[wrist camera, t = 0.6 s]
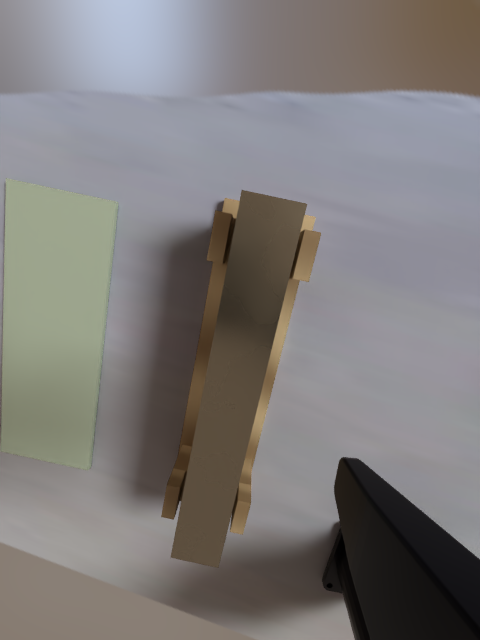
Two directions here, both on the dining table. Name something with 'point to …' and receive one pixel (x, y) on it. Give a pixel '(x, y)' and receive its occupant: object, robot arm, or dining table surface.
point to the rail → (236, 370)
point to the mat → (54, 320)
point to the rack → (219, 257)
